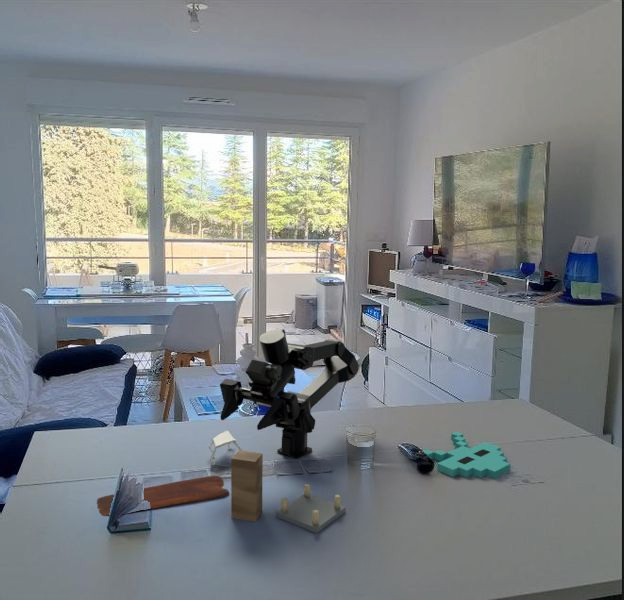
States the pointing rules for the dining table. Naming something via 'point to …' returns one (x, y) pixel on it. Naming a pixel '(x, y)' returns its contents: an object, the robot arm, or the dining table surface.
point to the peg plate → (310, 511)
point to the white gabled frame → (222, 442)
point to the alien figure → (470, 459)
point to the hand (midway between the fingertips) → (239, 423)
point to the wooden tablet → (175, 493)
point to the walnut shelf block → (246, 485)
